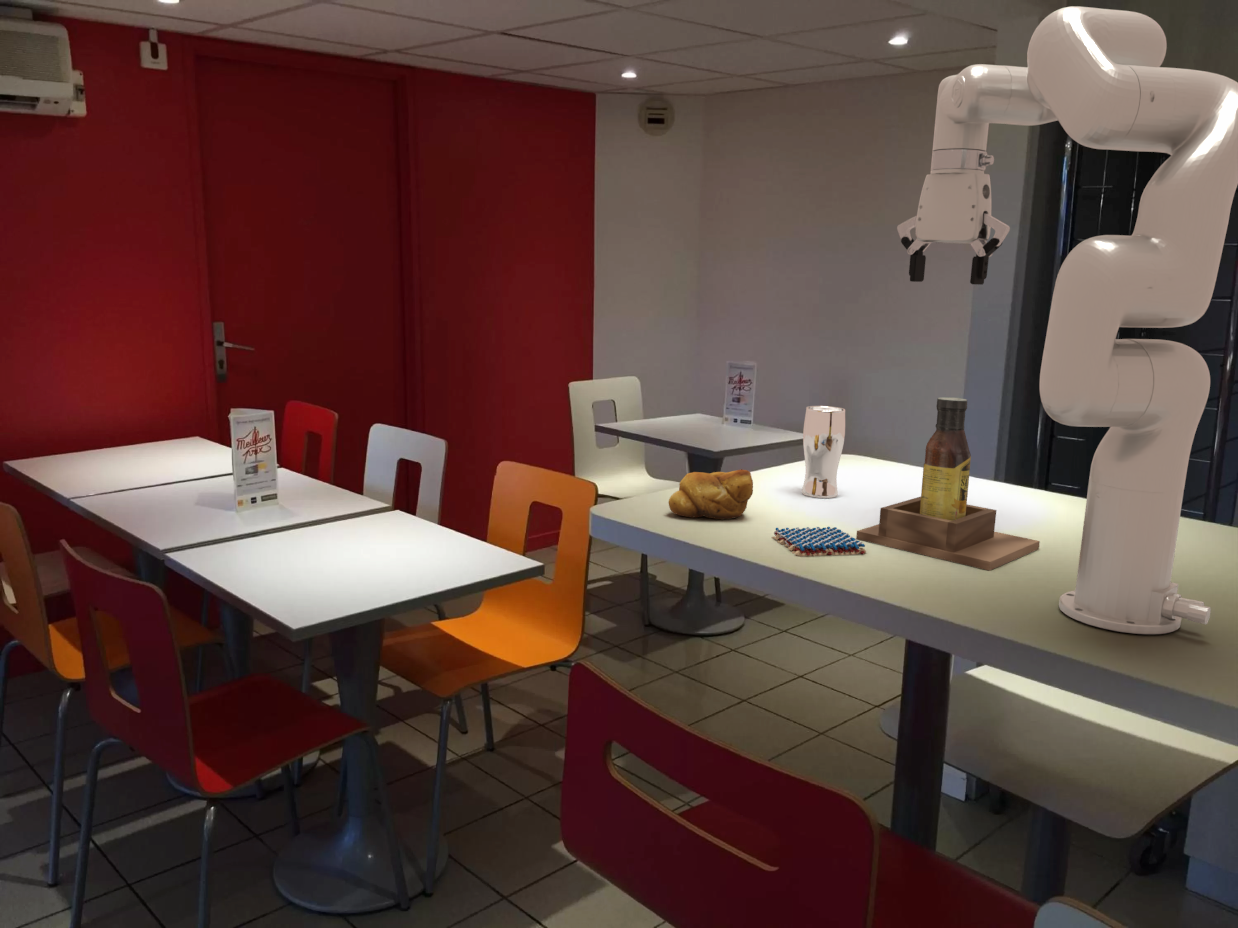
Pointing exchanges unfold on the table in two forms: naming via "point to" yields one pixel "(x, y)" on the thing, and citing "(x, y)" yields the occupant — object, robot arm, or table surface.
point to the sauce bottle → (947, 463)
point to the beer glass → (822, 449)
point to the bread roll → (713, 494)
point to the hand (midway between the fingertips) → (946, 283)
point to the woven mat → (818, 541)
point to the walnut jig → (947, 536)
